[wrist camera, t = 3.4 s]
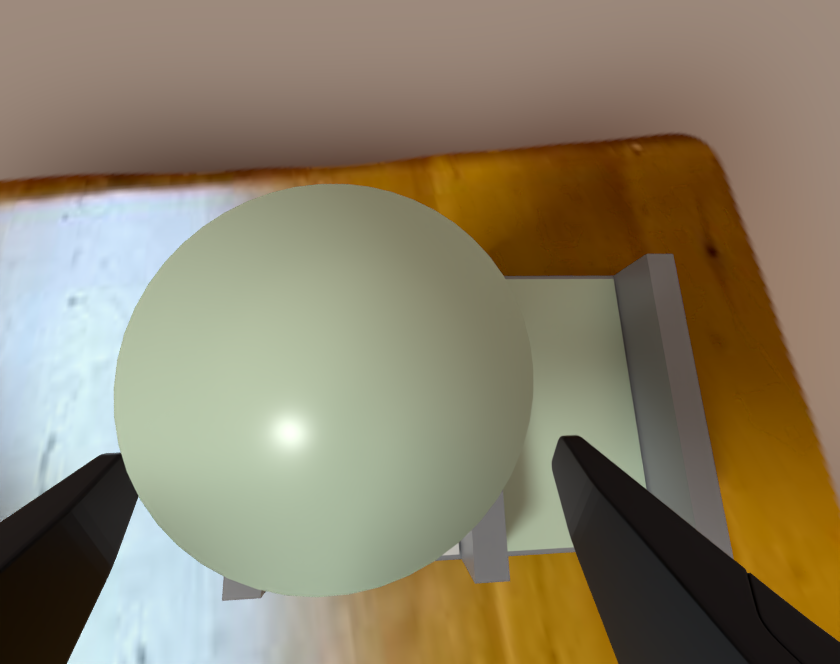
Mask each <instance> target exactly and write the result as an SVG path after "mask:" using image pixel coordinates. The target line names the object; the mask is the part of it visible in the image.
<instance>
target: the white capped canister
mask: <svg viewBox="0 0 840 664" xmlns="http://www.w3.org/2000/svg"><path fill="white" fill-rule="evenodd" d="M532 401H533V362H532V354H531V346H530V341H529V337H528V333H527V329H526V325H525V321H524V318H523V316H522V313H521V311H520V308H519V306H518V303H517V300H516V298H515V296H514V294H513V292H512V290H511V289H510V287H509V285H508V283H507V281H506V279H505V278H504V276H503V274H502V273H501V272H500V270H499V269H498V267H497V266H496V265H495V263H494V262H493V261H492V259H491V258H490V256H489V255H488V254H487V253H486V252H485V251H484V250H483V249H482V248H481V247H480V246H479V245H478V243H477V242H476V241H475V240H474V239H473V238H472V237H470V236H469V235H468V234H467V233H466V232H465V231H463V230H462V229H461V228H460V227H459V226H457V225H456V224H455V223H453V222H452V221H450V220H449V219H447V218H446V217H444V216H443V215H441V214H440V213H438V212H437V211H435V210H433V209H431V208H429V207H427V206H425V205H423V204H421V203H419V202H417V201H415V200H412V199H410V198H407V197H404V196H401V195H398V194H396V193H393V192H389V191H385V190H380V189H376V188H372V187H366V186H357V185H348V184H317V185H309V186H300V187H294V188H290V189H285V190H281V191H277V192H272V193H269V194H267V195H264V196H261V197H258V198H255V199H253V200H250V201H247V202H245V203H243V204H241V205H239V206H237V207H235V208H233V209H231V210H229V211H227V212H225V213H223V214H222V215H220V216H219V217H217V218H216V219H214V220H213V221H211V222H209V223H208V224H206V225H205V226H203V227H202V228H201V229H200V230H198V231H197V232H196V233H195V234H194V235H192V236H191V237H190V238H189V239H188V240H186V241H185V242H184V243H183V244H182V245H181V246H180V247H179V248H178V249H177V250H176V251H175V252H174V253H173V254H172V255H171V256H170V257H169V258H168V259H167V261H166V262H165V263H164V264H163V265H162V267H161V268H160V269H159V271H158V272H157V273H156V275H155V276H154V277H153V279H152V280H151V281H150V283H149V284H148V286H147V288H146V289H145V291H144V293H143V295H142V296H141V298H140V300H139V302H138V303H137V305H136V307H135V309H134V311H133V314H132V316H131V319H130V321H129V324H128V326H127V328H126V331H125V333H124V337H123V341H122V345H121V348H120V352H119V356H118V360H117V367H116V375H115V383H114V419H115V425H116V431H117V438H118V444H119V448H120V451H121V454H122V457H123V461H124V464H125V467H126V470H127V473H128V475H129V477H130V479H131V481H132V484H133V486H134V488H135V490H136V492H137V494H138V496H139V498H140V500H141V501H142V503H143V504H144V506H145V507H146V508H147V510H148V511H149V513H150V514H151V516H152V517H153V519H154V520H155V522H156V523H157V524H158V525H159V526H160V527H161V528H162V529H163V531H164V532H165V533H166V534H167V535H168V536H169V537H170V538H171V539H172V540H173V541H174V542H175V543H176V544H177V545H178V546H179V547H180V548H182V549H183V550H184V551H185V552H187V553H188V554H189V555H191V556H192V557H193V558H194V559H196V560H197V561H198V562H200V563H201V564H203V565H204V566H206V567H208V568H210V569H212V570H213V571H215V572H217V573H219V574H221V575H222V576H224V577H226V578H228V579H230V580H233V581H236V582H239V583H241V584H244V585H247V586H249V587H252V588H255V589H258V590H263V591H268V592H273V593H278V594H283V595H288V596H306V597H325V596H336V595H347V594H353V593H357V592H361V591H365V590H369V589H374V588H378V587H381V586H384V585H386V584H389V583H391V582H394V581H396V580H399V579H401V578H404V577H406V576H409V575H410V574H412V573H414V572H416V571H418V570H419V569H421V568H423V567H425V566H426V565H428V564H430V563H432V562H434V561H435V560H437V559H438V558H439V557H440V556H442V555H443V554H444V553H446V552H447V551H448V550H450V549H451V548H452V547H454V546H455V545H456V544H458V543H459V542H460V541H461V540H462V539H463V538H464V537H465V536H466V535H467V534H468V533H469V532H470V531H471V530H472V529H473V528H474V527H475V526H476V525H477V524H478V523H479V522H480V521H481V520H482V518H483V517H484V516H485V514H486V513H487V512H488V510H489V509H490V508H491V507H492V505H493V504H494V503H495V501H496V500H497V499H498V497H499V495H500V494H501V492H502V490H503V488H504V487H505V485H506V483H507V481H508V480H509V478H510V476H511V475H512V472H513V470H514V468H515V465H516V463H517V460H518V458H519V456H520V453H521V451H522V448H523V445H524V441H525V437H526V434H527V430H528V426H529V423H530V416H531V408H532Z"/></svg>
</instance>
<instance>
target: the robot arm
mask: <svg viewBox="0 0 840 664" xmlns="http://www.w3.org/2000/svg"><path fill="white" fill-rule="evenodd" d="M552 472H553V476H554V480H555V483H556V487H557V491H558V494H559V498H560V502H561V505H562V509H563V513H564V516H565V520H566V524H567V528H568V531H569V534H570V538H571V541H572V544H573V546H574V549H575V552H576V554H577V557H578V560H579V562H580V565H581V567H582V570H583V573H584V575H585V578H586V580H587V583H588V586H589V588H590V591H591V593H592V596H593V599H594V601H595V604H596V606H597V609H598V612H599V614H600V617H601V619H602V622H603V625H604V627H605V630H606V632H607V635H608V638H609V640H610V643H611V645H612V648H613V651H614V653H615V656H616V658H617V661H618V664H840V642H839V641H837V640H836V639H835V638H833V637H832V636H831V635H829V634H828V633H827V632H825V631H824V630H823V629H821V628H820V627H819V626H817V625H816V624H814V623H813V622H812V621H810V620H809V619H808V618H807V617H805V616H804V615H803V614H802V613H800V612H799V611H798V610H796V609H795V608H794V607H793V606H791V605H790V604H789V603H787V602H786V601H785V600H784V599H782V598H781V597H780V596H779V595H777V594H776V593H775V592H773V591H772V590H771V589H770V588H768V587H767V586H766V585H765V584H764V583H762V582H761V581H760V580H759V579H757V578H756V577H755V576H754V575H752V574H751V573H747V572H746V570H745V568H743V567H742V566H741V565H740V564H738V563H737V562H736V561H735V560H734V559H732V558H731V557H730V556H729V555H727V554H726V553H725V552H724V551H722V550H721V549H720V548H719V547H717V546H716V545H715V544H714V543H712V542H711V541H710V540H709V539H707V538H706V537H705V536H704V535H703V534H701V533H700V532H699V531H698V530H696V529H695V528H694V527H693V526H691V525H690V524H689V523H688V522H686V521H685V520H684V519H683V518H681V517H680V516H679V515H678V514H676V513H675V512H674V511H673V510H672V509H670V508H669V507H668V506H667V505H665V504H664V503H663V502H662V501H660V500H659V499H658V498H657V497H655V496H654V495H653V494H652V493H650V492H649V491H648V490H647V489H645V488H644V487H643V486H642V485H641V484H639V483H638V482H637V481H636V480H634V479H633V478H632V477H631V476H629V475H628V474H627V473H626V472H624V471H623V470H622V469H621V468H619V467H618V466H617V465H616V464H614V463H613V462H612V461H611V460H610V459H608V458H607V457H606V456H605V455H603V454H602V453H601V452H600V451H598V450H597V449H596V448H595V447H593V446H592V445H591V444H590V443H588V442H587V441H586V440H585V439H583V438H582V437H580V436H578V435H565V436H561V437H560V438H559V439H558V442H557V445H556V448H555V452H554V455H553V458H552ZM137 499H138V494H137V492H136V490H135V488H134V486H133V484H132V481H131V479H130V477H129V475H128V473H127V470H126V467H125V464H124V461H123V457H122V454H121V453H105V454H101V455H99V456H98V457H96V458H95V459H93V460H92V461H90V462H89V463H87V464H86V465H84V466H83V467H81V468H80V469H78V470H77V471H75V472H74V473H72V474H71V475H70V476H68V477H67V478H65V479H64V480H62V481H61V482H59V483H58V484H56V485H55V486H53V487H52V488H50V489H49V490H47V491H46V492H44V493H43V494H42V495H40V496H39V497H37V498H36V499H34V500H33V501H31V502H30V503H28V504H27V505H25V506H24V507H22V508H21V509H19V510H18V511H16V512H15V513H14V514H12V515H11V516H9V517H8V518H6V519H5V520H3V521H2V522H0V664H67V662H68V660H69V658H70V656H71V654H72V652H73V649H74V647H75V645H76V643H77V641H78V639H79V637H80V635H81V633H82V631H83V629H84V626H85V624H86V622H87V620H88V618H89V616H90V614H91V612H92V610H93V608H94V605H95V603H96V601H97V599H98V597H99V595H100V593H101V591H102V589H103V587H104V584H105V582H106V580H107V578H108V576H109V574H110V571H111V569H112V567H113V564H114V562H115V559H116V557H117V554H118V551H119V549H120V546H121V543H122V540H123V538H124V535H125V532H126V529H127V527H128V524H129V521H130V518H131V516H132V513H133V510H134V507H135V505H136V502H137Z"/></svg>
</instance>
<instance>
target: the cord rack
mask: <svg viewBox="0 0 840 664" xmlns="http://www.w3.org/2000/svg"><path fill="white" fill-rule="evenodd" d="M504 278H505V279H506V281H507V283H508V285H509V287H510V289H511V290H512V292H513V294H514V296H515V298H516V300H517V303H518V306H519V308H520V311H521V313H522V316H523V318H524V321H525V325H526V329H527V333H528V337H529V341H530V346H531V354H532V362H533V401H532V408H531V416H530V423H529V426H528V430H527V434H526V437H525V441H524V445H523V448H522V451H521V453H520V456H519V458H518V460H517V463H516V465H515V468H514V470H513V472H512V475H511V476H510V478H509V480H508V481H507V483H506V485H505V487H504V488H503V490H502V492H501V494H500V495H499V497H498V499H497V500H496V501H495V503H494V504H493V505H492V507H491V508H490V509H489V510H488V512H487V513H486V514H485V516H484V517H483V518H482V520H481V521H480V522H479V523H478V524H477V525H476V526H475V527H474V528H473V529H472V530H471V531H470V532H469V533H468V534H467V535H466V536H465V537H464V538H463V539H462V540H461V541H460V542H459V543H458V544H456V545H455V546H454V547H452V548H451V549H450V550H448V551H447V552H446V553H444V554H443V555H442V556H440V557H439V558H438V559H437V560H435V561H438V560H454V559H462V561H463V562H464V564H465V566H466V568H467V570H468V571H469V573H470V575H471V577H472V579H473V580H474V582H475V583H488V582H503V581H510V575H509V562H508V556H517V555H533V554H549V553H565V552H575V549H574V546H573V544H572V541H571V538H570V534H569V531H568V528H567V524H566V520H565V516H564V513H563V509H562V505H561V502H560V498H559V494H558V491H557V487H556V483H555V480H554V476H553V472H552V458H553V455H554V452H555V448H556V445H557V442H558V439H559V438H560V437H561V436H565V435H578V436H580V437H582V438H583V439H585V440H586V441H587V442H588V443H590V444H591V445H592V446H593V447H595V448H596V449H597V450H598V451H600V452H601V453H602V454H603V455H605V456H606V457H607V458H608V459H610V460H611V461H612V462H613V463H614V464H616V465H617V466H618V467H619V468H621V469H622V470H623V471H624V472H626V473H627V474H628V475H629V476H631V477H632V478H633V479H634V480H636V481H637V482H638V483H639V484H641V485H642V486H643V487H644V488H645V489H647V490H648V491H649V492H650V493H652V494H653V495H654V496H655V497H657V498H658V499H659V500H660V501H662V502H663V503H664V504H665V505H667V506H668V507H669V508H670V509H672V510H673V511H674V512H675V513H676V514H678V515H679V516H680V517H681V518H683V519H684V520H685V521H686V522H688V523H689V524H690V525H691V526H693V527H694V528H695V529H696V530H698V531H699V532H700V533H701V534H703V535H704V536H705V537H706V538H707V539H709V540H710V541H711V542H712V543H714V544H715V545H716V546H717V547H719V548H720V549H721V550H722V551H724V552H725V553H726V554H727V555H729V556H730V557H731V558H732V559H733V554H732V549H731V544H730V539H729V534H728V529H727V524H726V519H725V514H724V509H723V504H722V499H721V493H720V488H719V483H718V478H717V473H716V468H715V463H714V458H713V453H712V448H711V443H710V438H709V433H708V428H707V423H706V418H705V413H704V408H703V403H702V398H701V393H700V388H699V382H698V377H697V372H696V367H695V362H694V357H693V352H692V347H691V342H690V337H689V332H688V327H687V322H686V317H685V312H684V307H683V302H682V297H681V292H680V287H679V282H678V277H677V271H676V266H675V261H674V256H673V254H645V255H644V256H642V257H641V258H639V259H638V260H637V261H635V262H634V263H632V264H631V265H629V266H628V267H626V268H625V269H623V270H622V271H620V272H619V273H617V274H616V275H614V276H504ZM265 592H266V591H263V590H258V589H255V588H252V587H249V586H247V585H244V584H241V583H239V582H236V581H233V580H230V579H228V578H226V577H224V580H223V594H222V601H226V600H240V599H255V598H261V597H262V596H263V594H264V593H265Z"/></svg>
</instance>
